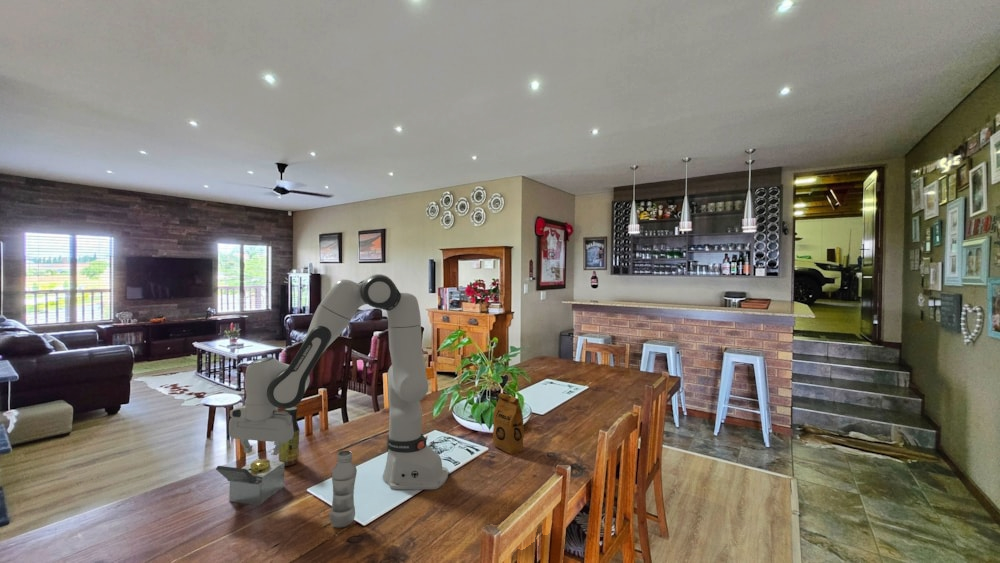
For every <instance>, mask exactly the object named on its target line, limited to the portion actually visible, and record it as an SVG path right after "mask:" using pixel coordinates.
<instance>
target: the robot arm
mask: <svg viewBox="0 0 1000 563" xmlns="http://www.w3.org/2000/svg"><path fill="white" fill-rule="evenodd" d="M364 305H368V306H370V307H372V308H375V309H380V310H383V311H386V313H387V320H388V322H387V329H388V349H389V353H390V354H389V356H390V360H391V365H390V366H389V368H388V370H387V395H388V398H387V399H388V409H389V410H388V412H389V420H388V422H389V423H388V435H387V440H386V441H387V442H386V450H387V455H386V463H385V466H384V470H383V474H382V479H383V481H384V483H387V484H388V486H389V488H390V489H392V490H437V489H438V488H440V487H442V486H444V484H445V483H446V481H447V480H448V478H449V469H448V468H447V467H445V466H443V462H442V458H441V456H440V454H438V453H437V452H435V451H434V450H433V449H432V448H431V447H429V446H428V445H427V440H428V436H429V435H426V436H424V435H423V432H422V421H423V420H422V418H423V417H422V416H423V412H422V406H421V400H423V399H424V398H425V397H426V396H427V393H428V391H429V381H428V378H427V370H426V369H427V368H426V364H425V363H426V362H425V357H424V352H423V343H422V341H423V340H422V321H421V320H422V319H421V312H420V306H419V302H418V298H417V297H416V296H415V295H413V294H411V293H408V292H401V291H399V289H398V287H397V286H396V284H395V283H394V281H393V280H392V279H391V278H390V277H389V276H387V275H385V274H381V273H379V274H377V273H376V274H372V275H370V276H368V277H367V278H365V279H363V280H362V281H359V282H355V281H353V280H349V279H340V280H338V281H337V282H335V284H333V285H332V287H331V288H330V289H329V291H328V292H327V293H326V294H325V296H324V297H323V298H322V300H321V302H320V303H319V304H318V306H317V308H316V310H315V312H314V314H313V316H312V319H311V322H310V324H309V327H308V329H307V333H306V335H305V338H304V340H303V342H302V345H301V346H300V348H299V350H298V351H297V353H296V354H295V356H294V358H293V359H292V361H290V364H288V363H285V362H282V361H280V360H278V359H276V358H275V357H272V356H265V357H262V358H258V359H255V360H253V361H251V362H250V363H249V364H248V365H247V366H246V369H245V377H244V390H245V393H246V396H245V400H244V404H243V405H240V406H237V407H234V408H233V409H231V410H230V411H229V416H230V419H229V420H228V436H229V437H230V438H231V439H233V440H234V439H235V440H240V444H241V446H242V447H243V453H245V454H247V453H248V454H250V453H251V452H253V445H250V442H249V441H258V442H270V443H271V442H272V443H273V444H274V448H272V449H271V450H270V452H271V456H278V455H279V451H280V446H281V445H282V443H286V442H288V441H289V440H291V439H292V438H293V436H294V430H293V423H292V415H290V414H289V413H288V412H286V411H285V409H288V408H292V407H297V405H299V404H300V403H301V401H302V400H303V398H304V397H305V393H306V391H307V390H308V387H309V385H310V382H311V376H310V374H311V372H312V371H313V369H314V367H315V366H316V364H317V362H318V361H319V359H320V358H321V356H322V355H323V353H324V352H325V351H326V349H328V347H329V346H330V345H331V344H332V343H333V342H334V341H336V339H337V338H339V336H340V335H341V334H342V333H343V332H344V331H345V330H346V328H347V327H348V326H349V324H350V323H351V321H352V319H353V318H354V316H355V314H356V312H358V310H359V309H360V307H362V306H364ZM278 409H282V410H283V409H284V411H282V410H278Z"/></svg>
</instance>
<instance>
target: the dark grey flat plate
mask: <svg viewBox="0 0 1000 563" xmlns="http://www.w3.org/2000/svg"><path fill="white" fill-rule="evenodd" d="M242 468H243V467H240V468H239V467H232V466H231V467H230V466H224V465H217V466H216V468H215V470H216V471H217V472H218V473H219V474H220V475H222V476H223V477H224V478H225V479H226V480H227V481H228V482H230V481H232V482H240V483H248V484H258V483H259V480H257V479H256V478H255V477H254V476H253V475H252V474H251V473H250V472H249V471H248V470H247V469H242Z"/></svg>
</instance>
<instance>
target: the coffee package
mask: <svg viewBox="0 0 1000 563" xmlns="http://www.w3.org/2000/svg"><path fill="white" fill-rule="evenodd" d="M492 426H493V431H492V434H493V435H492V438H493V439H492V446H495V447H497V448H499V449H500V450H502V451H503V452H505V453H508V454H509V455H512V456H513V455H514V454H515V455H516V454H518V453H522V452H523V451H524V437H525V436H524V435H525V430H524V416H523V412H522V408H521V403H520V400H519V398H517V397H515V396H513V395H510V394H507V393H502V392H500V393H499V394H498V401H497V403H496V405H495V408H494V411H493V425H492Z"/></svg>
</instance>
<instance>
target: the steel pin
mask: <svg viewBox="0 0 1000 563" xmlns="http://www.w3.org/2000/svg"><path fill="white" fill-rule="evenodd" d="M253 461H254V460H253ZM253 461H251V462H252V463H251V462H250V463H251V467H250V470H251V471H253V472H261V471H263V470H266V469H268V468H269V467H270V461H271V460H270V461H269V459H268V458H267V459H266V458H265V459H264V458H263V459H262V458H261V460H257V461H254V462H253Z"/></svg>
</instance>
